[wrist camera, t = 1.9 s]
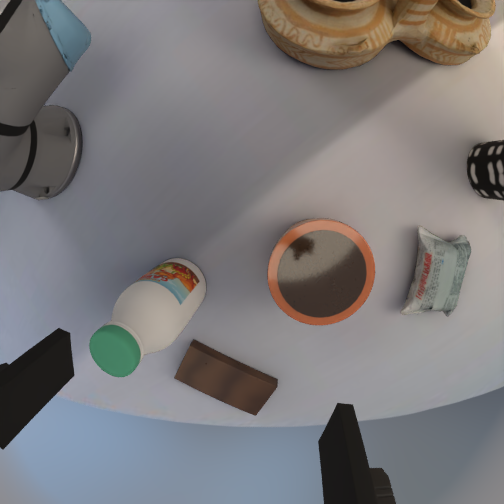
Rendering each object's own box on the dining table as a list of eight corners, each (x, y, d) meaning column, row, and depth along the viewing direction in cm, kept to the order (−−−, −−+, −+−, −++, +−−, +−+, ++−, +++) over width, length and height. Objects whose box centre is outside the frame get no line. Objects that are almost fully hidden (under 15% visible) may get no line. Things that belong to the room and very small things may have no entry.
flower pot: (255, 273, 40) (248, 297, 32) (296, 196, 38) (300, 199, 29) (328, 309, 41) (339, 341, 32) (370, 238, 38) (394, 252, 29)
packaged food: (394, 306, 40) (407, 320, 35) (412, 223, 37) (429, 228, 32) (442, 310, 39) (458, 323, 34) (461, 233, 37) (479, 239, 32)
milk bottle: (218, 292, 42) (170, 375, 22) (177, 319, 43) (114, 403, 24) (184, 245, 41) (107, 296, 21) (145, 276, 42) (60, 337, 23)
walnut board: (177, 371, 45) (174, 378, 43) (193, 339, 44) (190, 345, 42) (256, 408, 45) (255, 415, 43) (277, 379, 44) (277, 386, 42)
